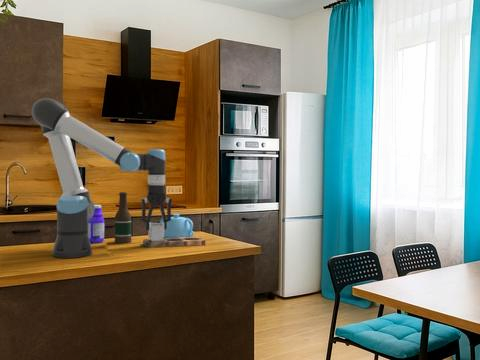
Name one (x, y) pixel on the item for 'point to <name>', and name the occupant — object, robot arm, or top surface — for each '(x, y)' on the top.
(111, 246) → the top surface
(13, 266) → the top surface
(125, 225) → the beer bottle
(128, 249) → the top surface
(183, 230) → the teapot
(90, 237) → the bottle
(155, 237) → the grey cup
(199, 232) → the top surface
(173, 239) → the brown wooden board
